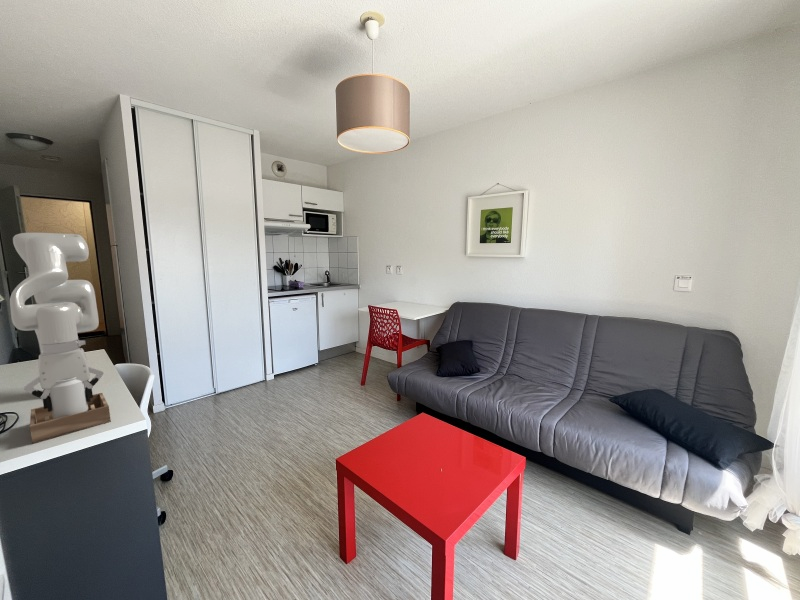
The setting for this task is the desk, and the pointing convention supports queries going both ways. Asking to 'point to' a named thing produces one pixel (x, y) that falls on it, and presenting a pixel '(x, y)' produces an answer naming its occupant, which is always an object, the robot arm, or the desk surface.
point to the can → (68, 398)
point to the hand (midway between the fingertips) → (69, 405)
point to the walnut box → (68, 420)
